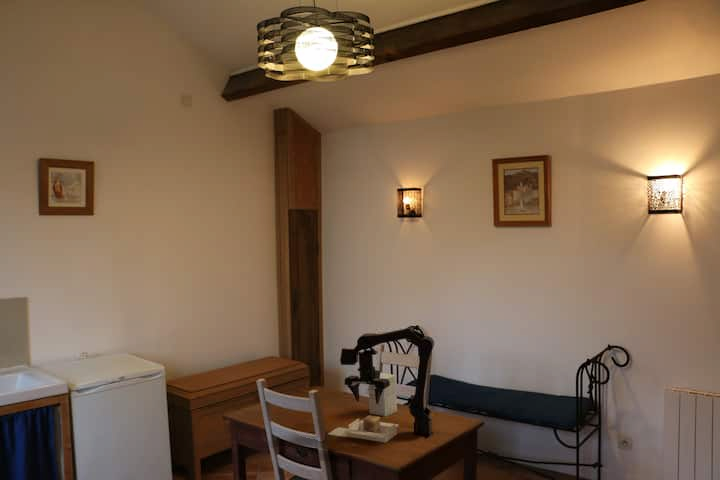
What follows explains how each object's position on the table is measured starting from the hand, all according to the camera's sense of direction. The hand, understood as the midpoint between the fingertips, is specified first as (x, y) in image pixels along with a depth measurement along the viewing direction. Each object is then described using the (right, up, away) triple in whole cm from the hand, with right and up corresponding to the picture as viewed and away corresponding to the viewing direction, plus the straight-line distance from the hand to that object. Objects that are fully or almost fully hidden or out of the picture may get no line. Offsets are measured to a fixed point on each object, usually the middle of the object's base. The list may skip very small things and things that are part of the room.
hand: (367, 402), depth 249 cm
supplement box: (+7, -12, +26) cm, 30 cm away
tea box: (+2, -12, -5) cm, 13 cm away
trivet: (-10, -13, -1) cm, 16 cm away
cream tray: (+2, -12, -5) cm, 13 cm away
